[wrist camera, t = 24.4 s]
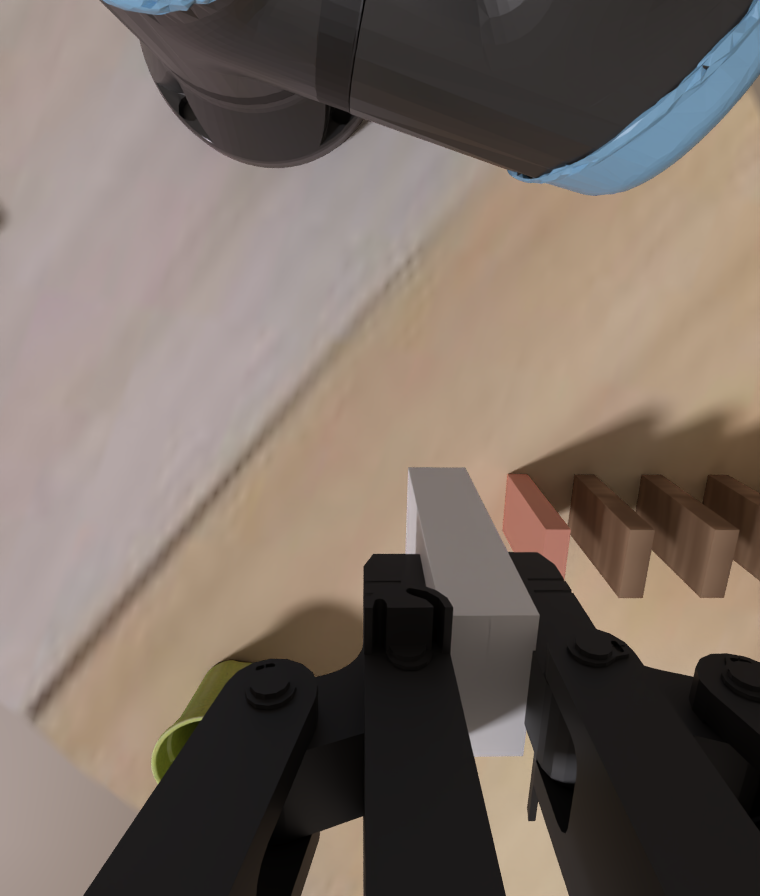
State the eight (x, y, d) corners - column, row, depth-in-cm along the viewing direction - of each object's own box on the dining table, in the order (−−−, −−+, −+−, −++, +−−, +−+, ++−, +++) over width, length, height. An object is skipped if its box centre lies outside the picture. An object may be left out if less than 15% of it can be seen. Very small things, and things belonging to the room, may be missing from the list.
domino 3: (632, 530, 47) (700, 597, 38) (641, 474, 46) (715, 530, 36) (651, 530, 47) (723, 597, 38) (661, 474, 46) (739, 529, 36)
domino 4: (696, 530, 47) (780, 597, 38) (708, 475, 46) (798, 529, 36) (715, 530, 47) (803, 597, 38) (727, 475, 46) (822, 530, 36)
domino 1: (502, 530, 47) (538, 598, 37) (507, 474, 45) (545, 529, 36) (521, 530, 47) (561, 597, 37) (527, 474, 45) (570, 529, 36)
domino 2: (567, 530, 47) (618, 597, 38) (574, 474, 45) (630, 529, 36) (586, 530, 47) (642, 598, 38) (594, 474, 46) (654, 529, 36)
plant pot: (244, 623, 49) (220, 696, 41) (311, 694, 51) (301, 776, 43) (163, 677, 50) (124, 758, 42) (232, 743, 53) (208, 831, 45)
